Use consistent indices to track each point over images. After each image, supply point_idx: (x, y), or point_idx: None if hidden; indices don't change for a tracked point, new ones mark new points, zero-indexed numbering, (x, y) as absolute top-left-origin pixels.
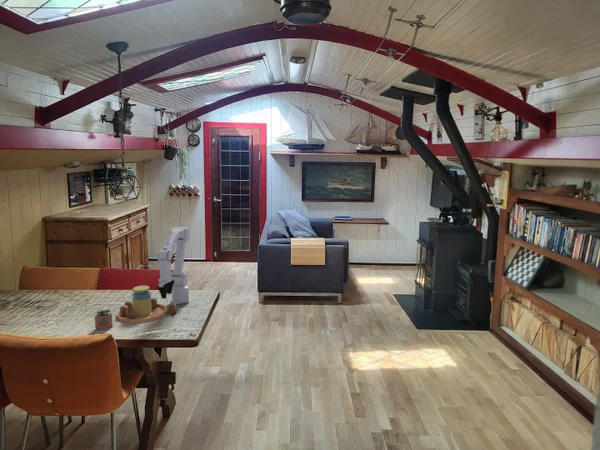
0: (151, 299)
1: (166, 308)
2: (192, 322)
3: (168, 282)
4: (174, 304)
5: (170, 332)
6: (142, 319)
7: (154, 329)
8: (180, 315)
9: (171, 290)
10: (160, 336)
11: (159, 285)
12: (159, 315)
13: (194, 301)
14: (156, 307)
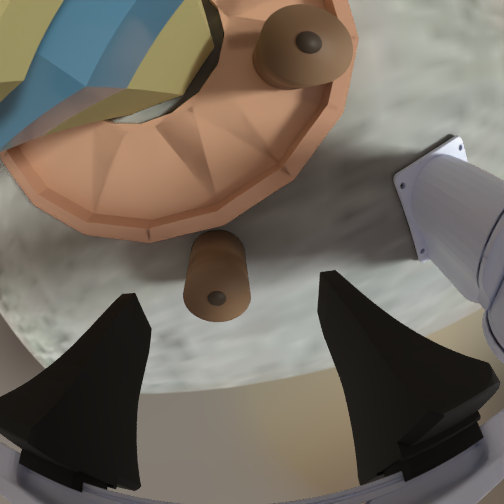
0: (294, 27)
1: (234, 213)
2: (148, 370)
3: (382, 449)
4: (229, 309)
5: (41, 331)
6: (11, 172)
7: (17, 267)
8: None
9: (333, 353)
10: (8, 312)
11: (1, 465)
12: (93, 234)
13: (430, 277)
14: (281, 88)
